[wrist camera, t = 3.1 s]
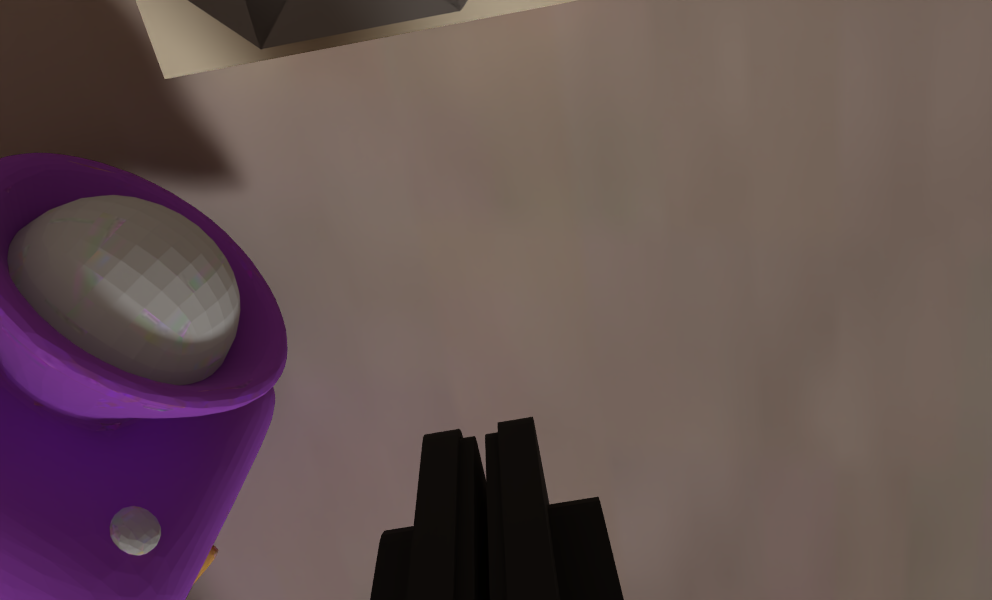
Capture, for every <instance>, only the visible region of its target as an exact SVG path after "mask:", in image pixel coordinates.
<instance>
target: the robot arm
mask: <svg viewBox="0 0 992 600" xmlns="http://www.w3.org/2000/svg"><path fill="white" fill-rule="evenodd" d="M485 448H486V479H485V474H484V470H483V466H482V462H481V457H480V453H479V449H478V444H477V441H476V438H475V436H473V437H467V438H463V436H462V433H461V430H460V429H456V430H450V431H444V432H438V433H432V434H426V435H424V437H423V443H422V452H421V462H420V471H419V481H418V490H417V500H416V510H415V519H414V526H411V527H405V528H398V529H392V530H386V531H384V532H383V534H382V535H381V539H380V543H379V549H378V555H377V561H376V567H375V573H374V580H373V586H372V592H371V598H370V600H624V599H623V595H622V591H621V586H620V582H619V578H618V574H617V570H616V566H615V562H614V557H613V553H612V549H611V545H610V541H609V537H608V532H607V528H606V524H605V520H604V516H603V512H602V508H601V504H600V500H599V497H594V498H587V499H581V500H575V501H569V502H562V503H556V504H550V505H549V500H548V494H547V489H546V484H545V478H544V473H543V467H542V462H541V457H540V451H539V446H538V441H537V435H536V430H535V425H534V420H533V417H529V418H523V419H517V420H510V421H504V422H498V432H497V433H491V434H486V435H485Z"/></svg>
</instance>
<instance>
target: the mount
mask: <svg viewBox="0 0 992 600" xmlns="http://www.w3.org/2000/svg"><path fill="white" fill-rule="evenodd" d="M572 1H577V0H136V3H137V5H138V8H139V11H140V14H141V16H142V19H143V22H144V24H145V27H146V30H147V33H148V35H149V38H150V41H151V43H152V46H153V49H154V52H155V54H156V57H157V60H158V62H159V65H160V68H161V71H162V73H163V76H164V79H169V78H174V77H179V76H184V75H190V74H195V73H200V72H205V71H210V70H216V69H221V68H226V67H231V66H237V65H242V64H247V63H252V62H258V61H263V60H268V59H273V58H279V57H284V56H289V55H294V54H300V53H305V52H310V51H315V50H320V49H326V48H331V47H336V46H341V45H347V44H352V43H357V42H362V41H368V40H373V39H378V38H383V37H389V36H394V35H399V34H404V33H409V32H415V31H420V30H425V29H430V28H436V27H441V26H446V25H451V24H457V23H462V22H467V21H472V20H478V19H483V18H488V17H493V16H498V15H504V14H509V13H514V12H519V11H525V10H530V9H535V8H540V7H546V6H551V5H556V4H561V3H567V2H572Z"/></svg>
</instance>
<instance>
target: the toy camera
mask: <svg viewBox="0 0 992 600" xmlns="http://www.w3.org/2000/svg"><path fill="white" fill-rule="evenodd" d="M286 359H287V336H286V329H285V325H284V321H283V317H282V315H281V312H280V309H279V307H278V304H277V302H276V299H275V297H274V295H273V293H272V292H271V290H270V288H269V286H268V285H267V283H266V281H265V280H264V278H263V277H262V275H261V274H260V272H259V271H258V269H257V268H256V267H255V265H254V264H253V262H252V261H251V260H250V258H249V257H248V256H247V255H246V254H245V253H244V251H243V250H242V249H241V248H240V247H239V246H238V245H237V244H236V243H235V242H234V241H233V240H232V239H231V238H230V236H229V235H228V234H227V233H226V232H225V231H223V230H222V229H221V228H220V227H219V226H218V225H217V224H215V223H214V222H213V221H212V220H211V219H209V218H208V217H207V216H205V215H204V214H203V213H201V212H200V211H199V210H197V209H196V208H195V207H193V206H192V205H190V204H188V203H187V202H185V201H184V200H182V199H181V198H179V197H177V196H176V195H174V194H173V193H171V192H169V191H167V190H165V189H164V188H162V187H160V186H158V185H156V184H154V183H152V182H150V181H148V180H145V179H143V178H141V177H139V176H137V175H135V174H132V173H130V172H127V171H124V170H121V169H118V168H115V167H113V166H110V165H107V164H104V163H100V162H97V161H93V160H88V159H84V158H80V157H75V156H69V155H62V154H53V153H26V154H18V155H12V156H7V157H3V158H0V600H185V599H186V597H187V595H188V593H189V591H190V589H191V587H192V585H193V584H194V583H195V582H196V581H197V579H198V578H199V577H200V576H201V575H202V573H203V572H204V571H205V570H206V569H207V567H208V566H209V565H210V564H211V562H212V561H213V560H214V559H215V557H216V555H217V553H218V549H217V548H216V547H215V546H214V545H213V544H214V542H215V540H216V538H217V536H218V534H219V532H220V530H221V528H222V526H223V524H224V522H225V520H226V518H227V516H228V514H229V512H230V510H231V508H232V506H233V504H234V502H235V499H236V497H237V495H238V493H239V491H240V489H241V487H242V485H243V483H244V481H245V479H246V476H247V474H248V472H249V470H250V468H251V466H252V464H253V462H254V460H255V458H256V455H257V453H258V451H259V449H260V447H261V445H262V442H263V440H264V437H265V435H266V433H267V430H268V428H269V425H270V422H271V420H272V415H273V411H274V405H275V393H274V389H273V386H274V385H275V383H276V382H277V380H278V379H279V377H280V376H281V374H282V372H283V369H284V367H285V363H286Z"/></svg>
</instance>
